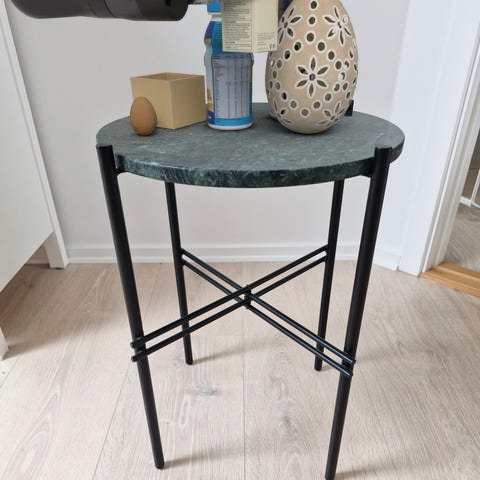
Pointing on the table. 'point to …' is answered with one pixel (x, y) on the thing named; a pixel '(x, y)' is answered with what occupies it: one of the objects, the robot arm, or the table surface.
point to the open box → (173, 97)
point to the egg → (143, 116)
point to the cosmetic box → (249, 25)
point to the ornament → (313, 51)
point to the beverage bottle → (226, 79)
